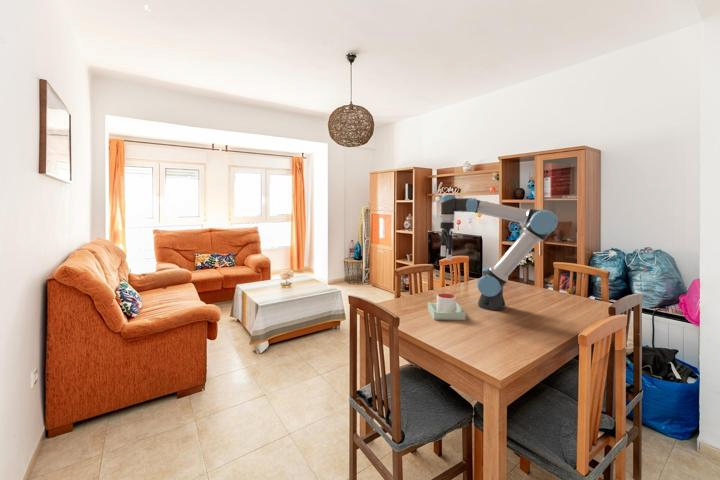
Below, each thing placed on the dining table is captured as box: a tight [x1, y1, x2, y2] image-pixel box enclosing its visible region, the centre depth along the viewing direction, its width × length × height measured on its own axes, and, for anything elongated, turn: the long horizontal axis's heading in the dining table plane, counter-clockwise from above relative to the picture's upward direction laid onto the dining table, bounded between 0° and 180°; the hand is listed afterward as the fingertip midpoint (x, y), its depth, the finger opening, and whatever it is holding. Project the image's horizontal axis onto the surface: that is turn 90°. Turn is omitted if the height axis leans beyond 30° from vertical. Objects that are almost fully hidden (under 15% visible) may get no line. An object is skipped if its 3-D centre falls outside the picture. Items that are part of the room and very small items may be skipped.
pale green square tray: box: [427, 301, 467, 321], centre depth 178 cm, size 16×16×4 cm
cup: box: [436, 292, 457, 312], centre depth 178 cm, size 10×10×10 cm
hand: (445, 258), depth 190 cm, fingers open, 13 cm apart
